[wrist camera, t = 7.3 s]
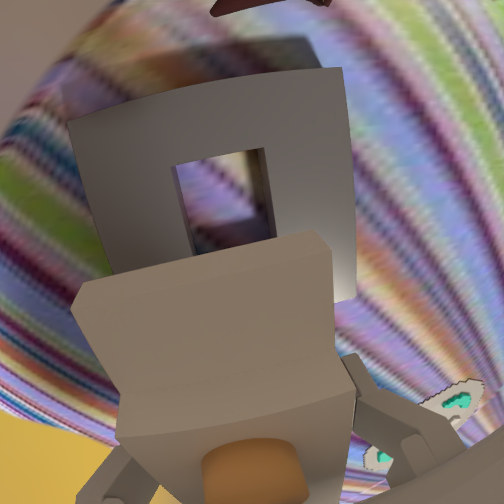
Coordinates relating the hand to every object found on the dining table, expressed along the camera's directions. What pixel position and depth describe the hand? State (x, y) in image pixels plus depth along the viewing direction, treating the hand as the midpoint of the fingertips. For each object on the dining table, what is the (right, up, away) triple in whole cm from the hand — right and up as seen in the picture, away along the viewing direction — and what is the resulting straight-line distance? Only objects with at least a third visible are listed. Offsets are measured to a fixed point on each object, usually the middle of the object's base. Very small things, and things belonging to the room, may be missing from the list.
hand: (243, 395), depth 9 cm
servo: (0, +1, +1) cm, 2 cm away
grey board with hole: (-2, +8, +15) cm, 17 cm away
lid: (+35, -30, +41) cm, 62 cm away
